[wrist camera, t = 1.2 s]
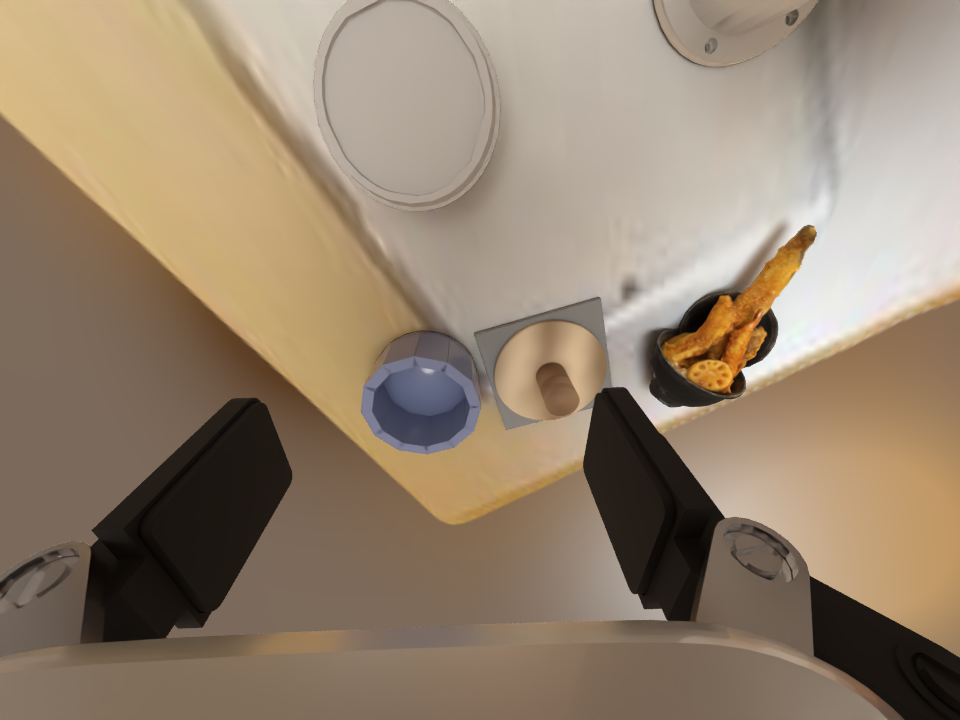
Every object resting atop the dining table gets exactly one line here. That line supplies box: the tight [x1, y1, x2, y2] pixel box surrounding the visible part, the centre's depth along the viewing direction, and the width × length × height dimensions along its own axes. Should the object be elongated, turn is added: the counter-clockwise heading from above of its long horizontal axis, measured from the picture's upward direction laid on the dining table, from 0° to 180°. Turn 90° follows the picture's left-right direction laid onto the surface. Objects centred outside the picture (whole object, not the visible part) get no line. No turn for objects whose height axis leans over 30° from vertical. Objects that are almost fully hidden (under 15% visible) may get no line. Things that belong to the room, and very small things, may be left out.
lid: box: [494, 319, 607, 420], centre depth 34 cm, size 12×12×6 cm
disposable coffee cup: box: [313, 0, 500, 211], centre depth 22 cm, size 10×10×12 cm
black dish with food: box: [649, 225, 817, 407], centre depth 31 cm, size 9×11×18 cm
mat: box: [474, 297, 612, 430], centre depth 37 cm, size 13×13×1 cm
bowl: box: [361, 331, 481, 454], centre depth 35 cm, size 11×11×6 cm
